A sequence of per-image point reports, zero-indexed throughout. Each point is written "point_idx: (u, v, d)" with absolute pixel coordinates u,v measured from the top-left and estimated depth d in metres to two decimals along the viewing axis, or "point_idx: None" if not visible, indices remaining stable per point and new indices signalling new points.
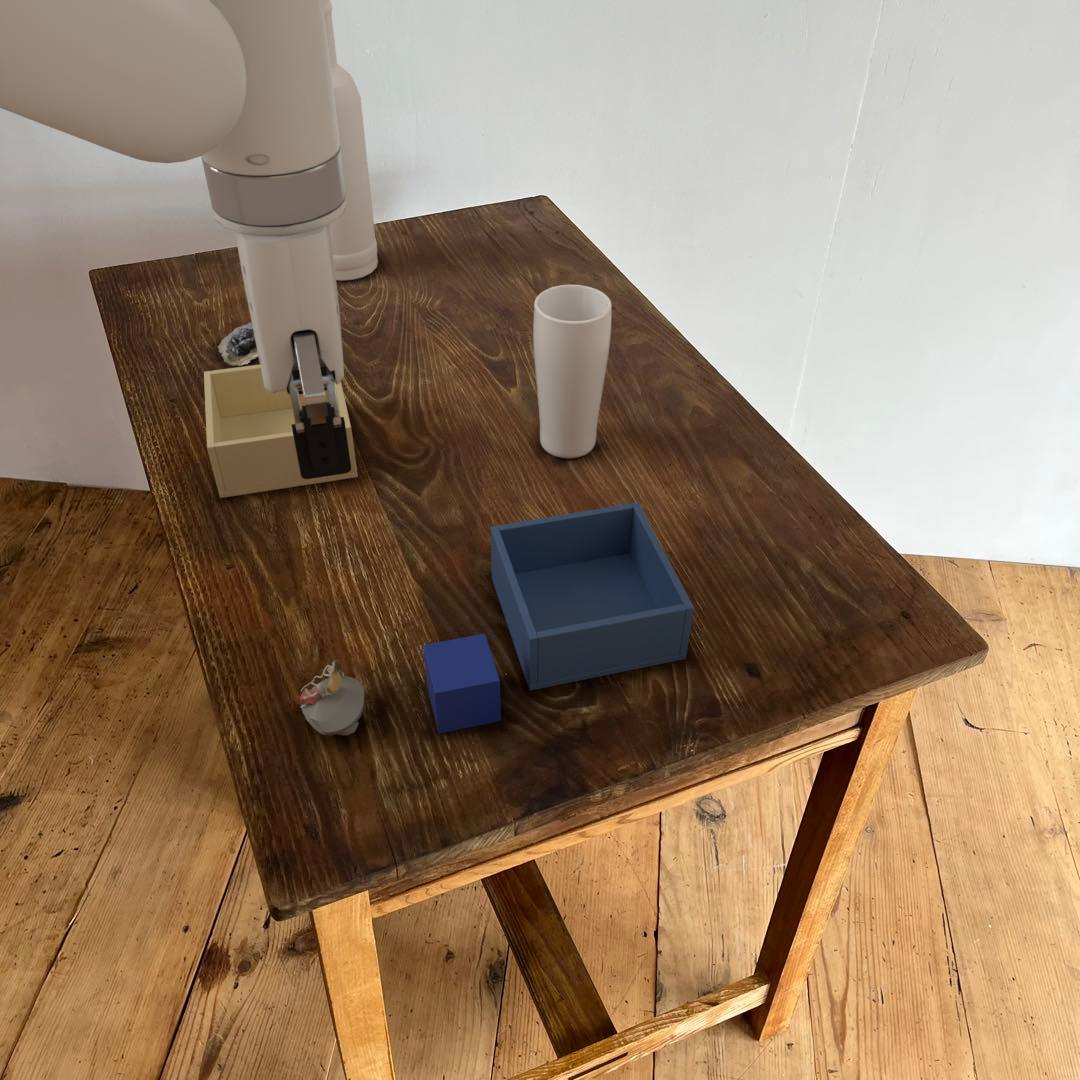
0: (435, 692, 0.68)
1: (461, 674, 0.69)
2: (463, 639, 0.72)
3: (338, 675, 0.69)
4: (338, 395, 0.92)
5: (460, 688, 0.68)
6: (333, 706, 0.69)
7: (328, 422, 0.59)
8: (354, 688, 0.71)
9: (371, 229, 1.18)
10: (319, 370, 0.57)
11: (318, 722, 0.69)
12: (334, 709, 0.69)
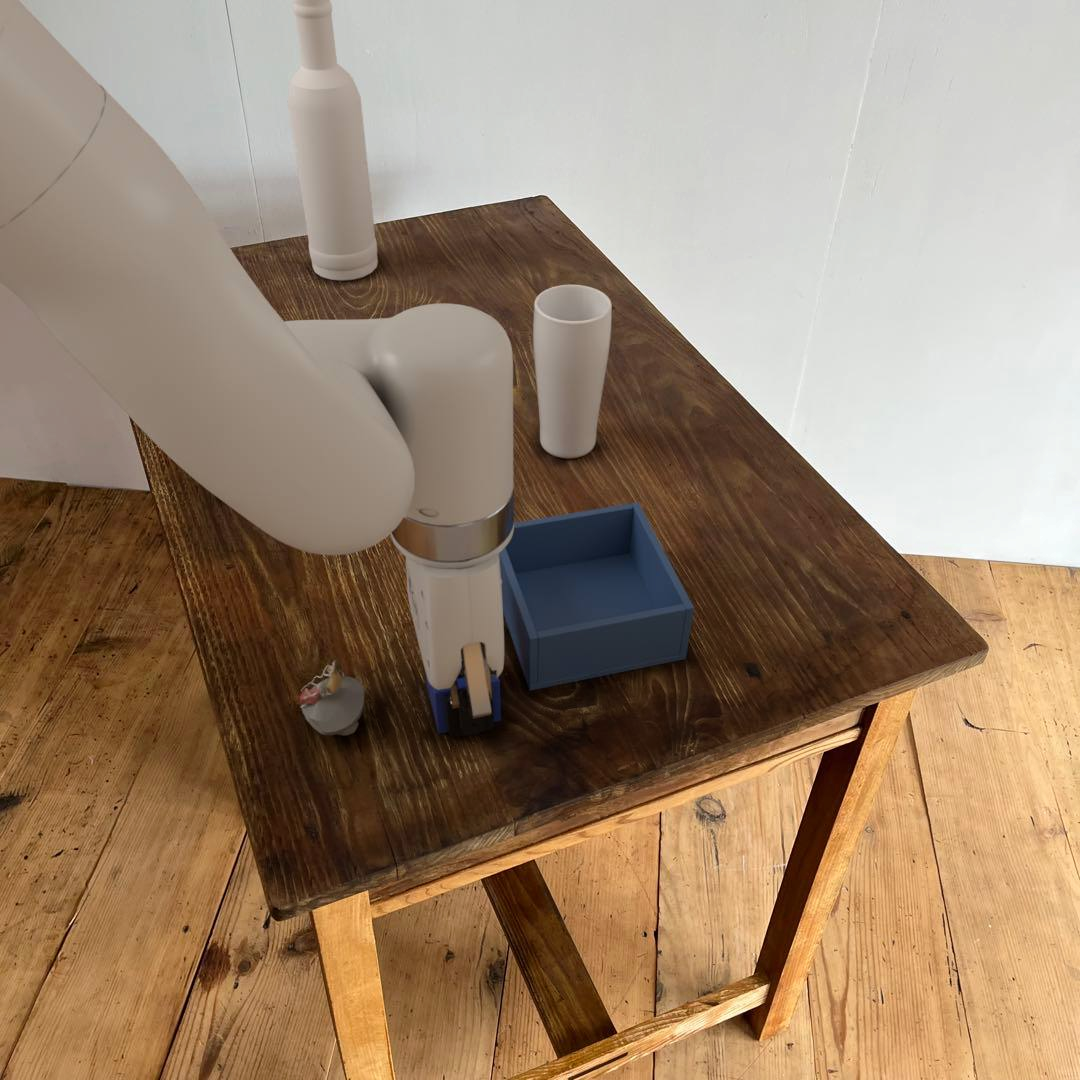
0: (435, 692, 0.68)
1: None
2: None
3: (338, 675, 0.69)
4: None
5: None
6: (333, 706, 0.69)
7: None
8: (354, 688, 0.71)
9: (371, 229, 1.18)
10: (486, 687, 0.63)
11: (318, 722, 0.69)
12: (334, 709, 0.69)
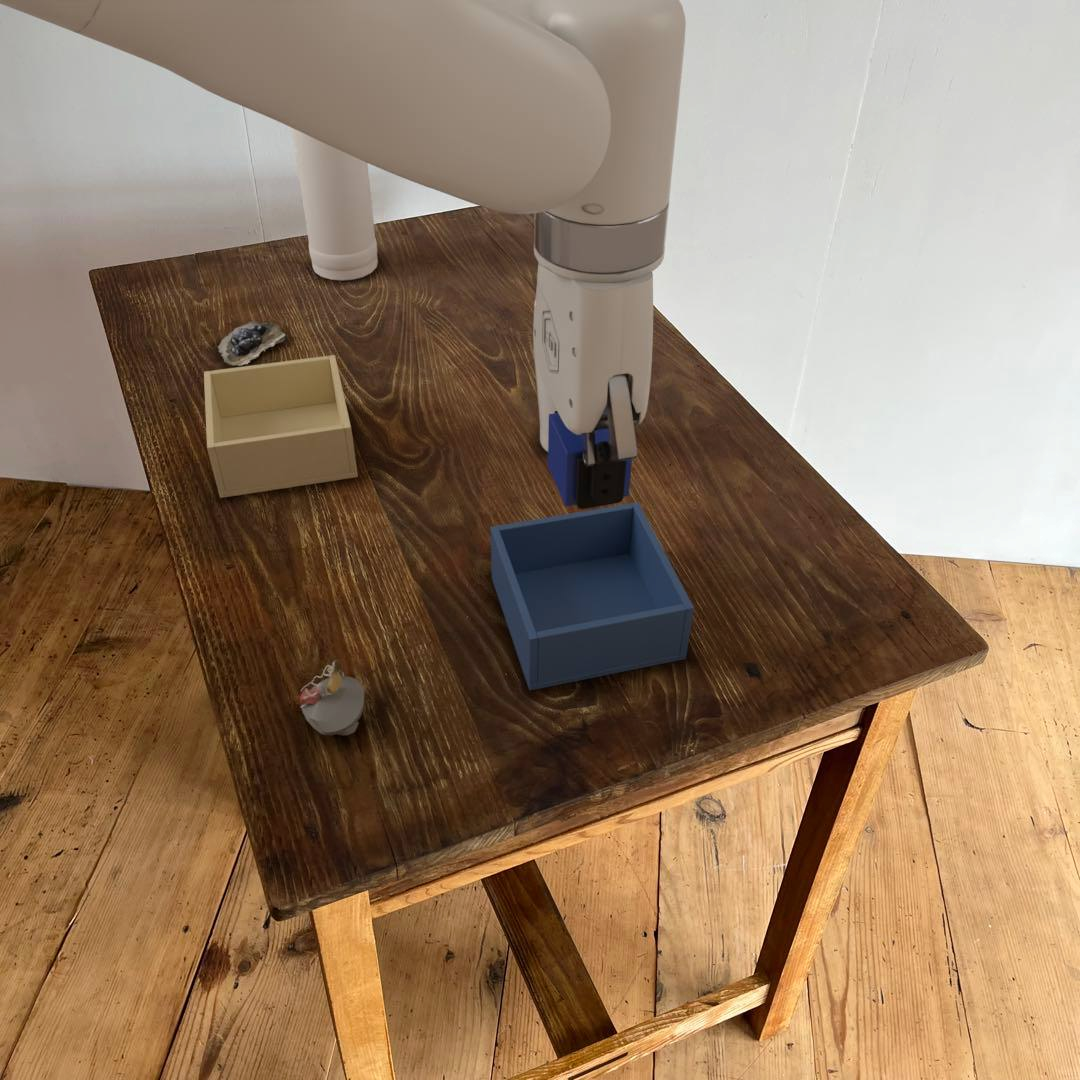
0: (567, 452, 0.65)
1: None
2: None
3: (338, 675, 0.69)
4: (338, 395, 0.92)
5: None
6: (333, 706, 0.69)
7: None
8: (354, 688, 0.71)
9: (371, 229, 1.18)
10: (632, 426, 0.59)
11: (318, 722, 0.69)
12: (334, 709, 0.69)
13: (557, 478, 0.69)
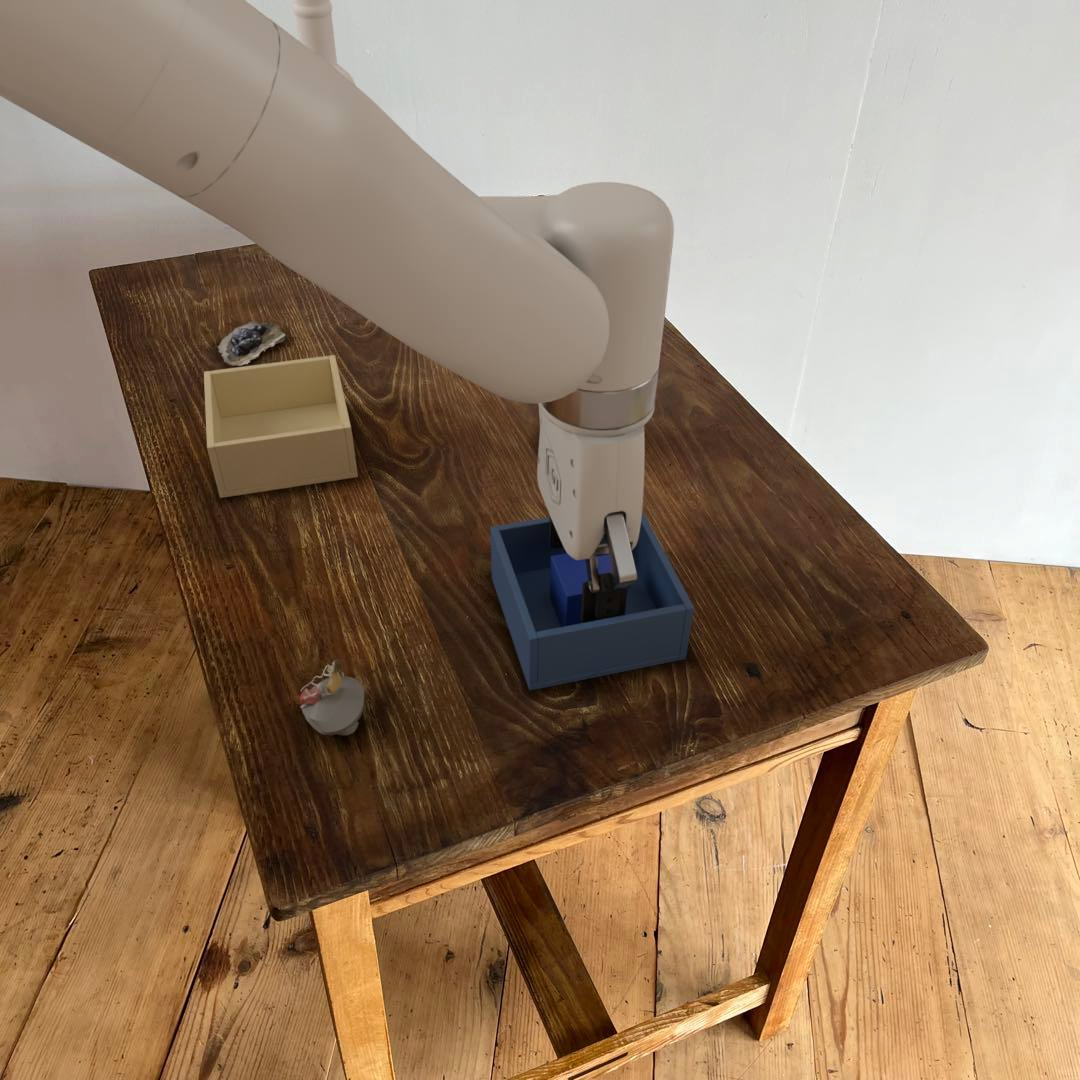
0: (567, 595, 0.74)
1: None
2: None
3: (338, 675, 0.69)
4: (338, 395, 0.92)
5: None
6: (333, 706, 0.69)
7: (626, 587, 0.68)
8: (354, 688, 0.71)
9: None
10: (630, 551, 0.66)
11: (318, 722, 0.69)
12: (334, 709, 0.69)
13: (558, 611, 0.78)
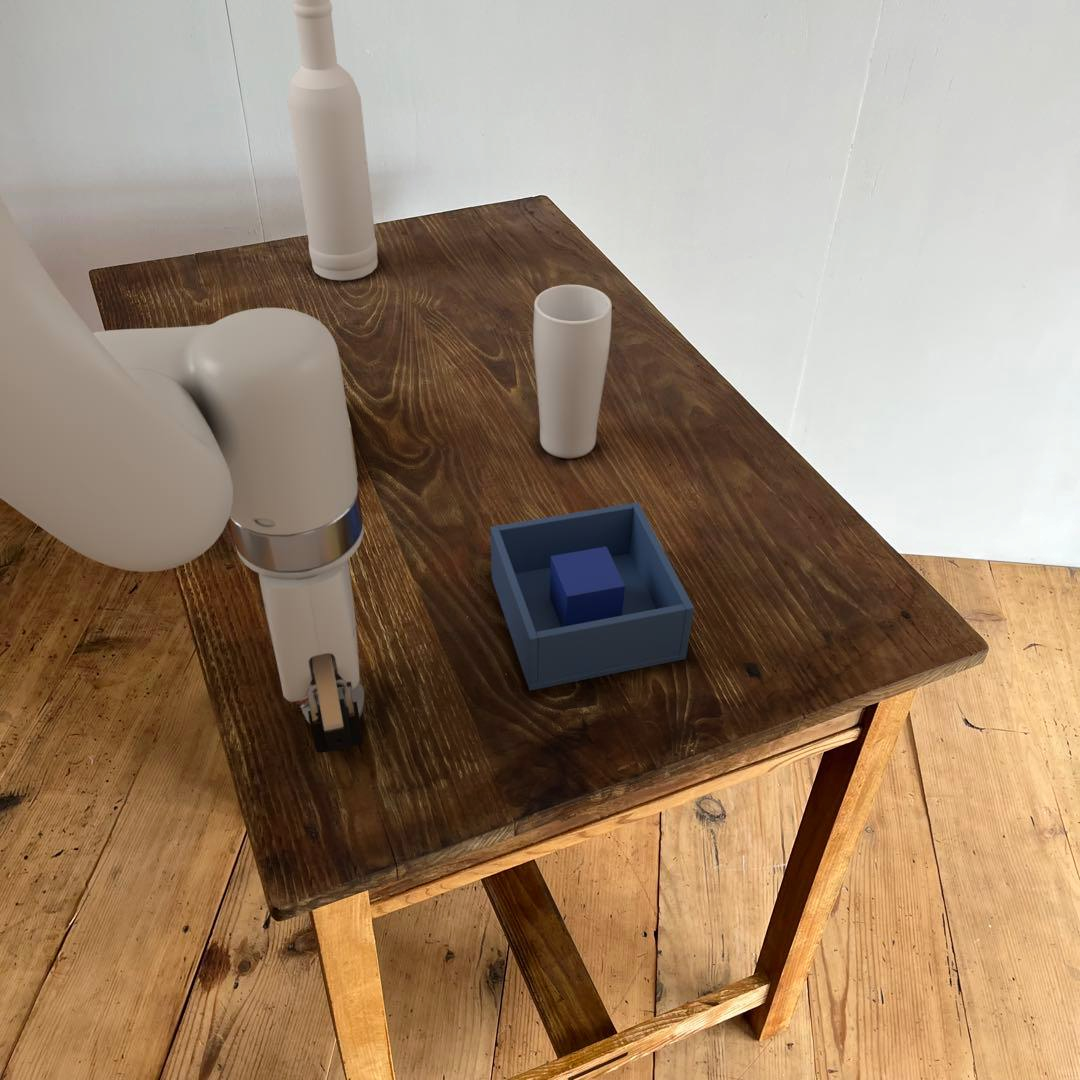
0: (567, 595, 0.74)
1: (589, 580, 0.75)
2: (587, 551, 0.78)
3: None
4: None
5: (589, 592, 0.74)
6: None
7: (342, 721, 0.64)
8: (354, 688, 0.71)
9: (371, 229, 1.18)
10: (337, 700, 0.61)
11: None
12: None
13: (558, 611, 0.78)
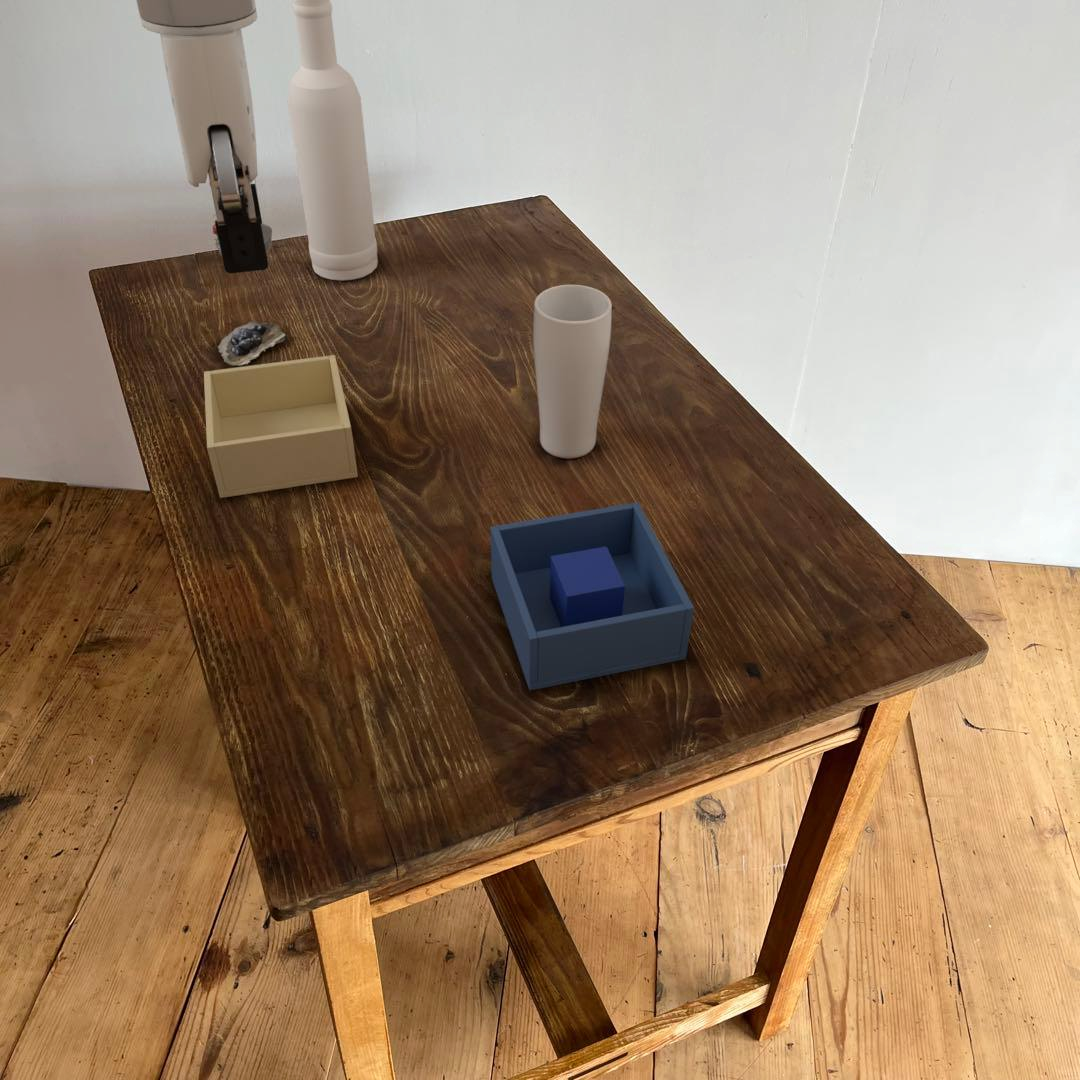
0: (567, 595, 0.74)
1: (589, 580, 0.75)
2: (587, 551, 0.78)
3: None
4: (338, 395, 0.92)
5: (589, 592, 0.74)
6: None
7: (242, 211, 0.71)
8: (263, 227, 0.78)
9: (371, 229, 1.18)
10: (234, 172, 0.69)
11: None
12: None
13: (558, 611, 0.78)
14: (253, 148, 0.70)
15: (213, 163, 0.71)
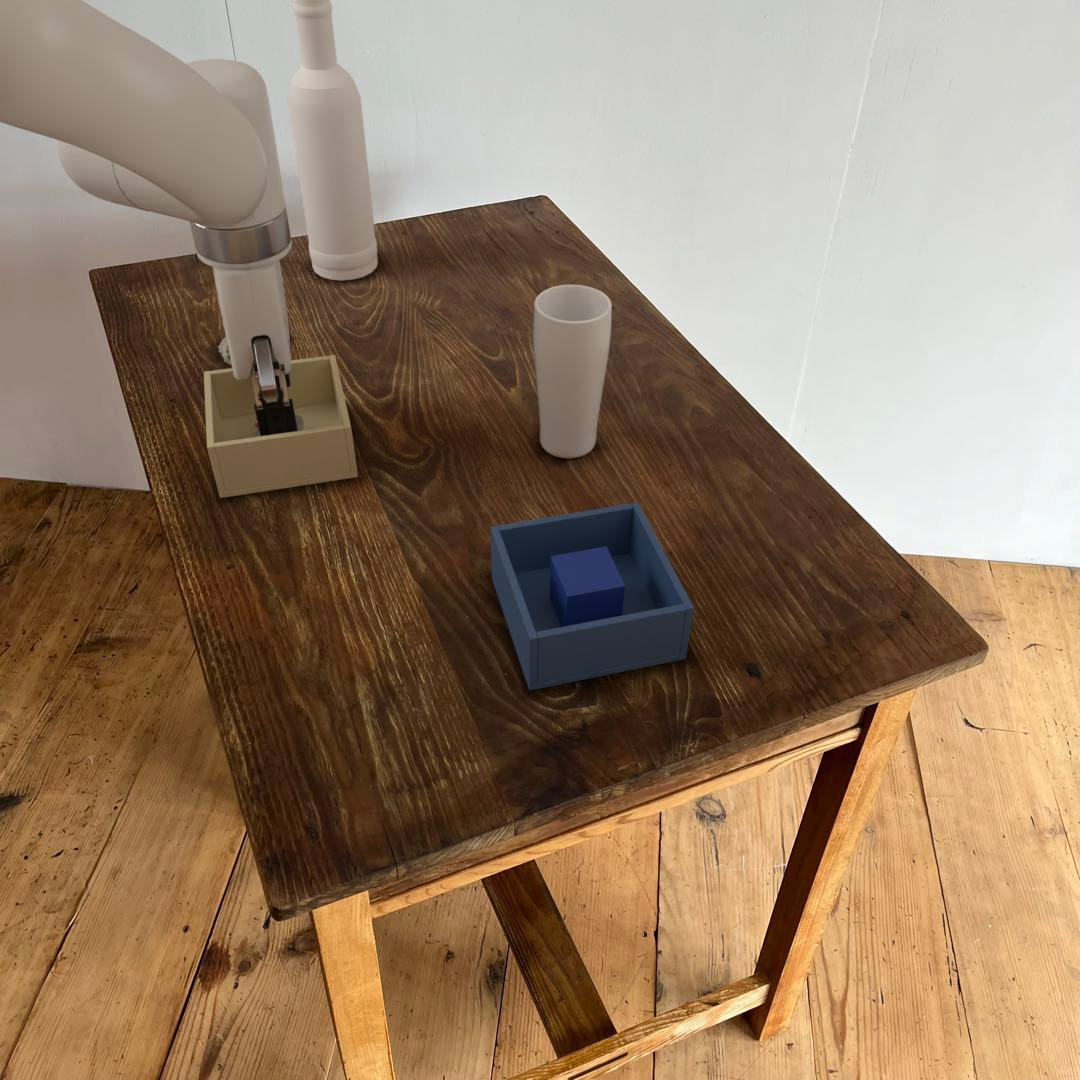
0: (567, 595, 0.74)
1: (589, 580, 0.75)
2: (587, 551, 0.78)
3: None
4: (338, 395, 0.92)
5: (589, 592, 0.74)
6: None
7: (278, 401, 0.84)
8: (296, 418, 0.94)
9: (371, 229, 1.18)
10: (271, 367, 0.82)
11: None
12: None
13: (558, 611, 0.78)
14: (288, 350, 0.84)
15: (254, 360, 0.85)
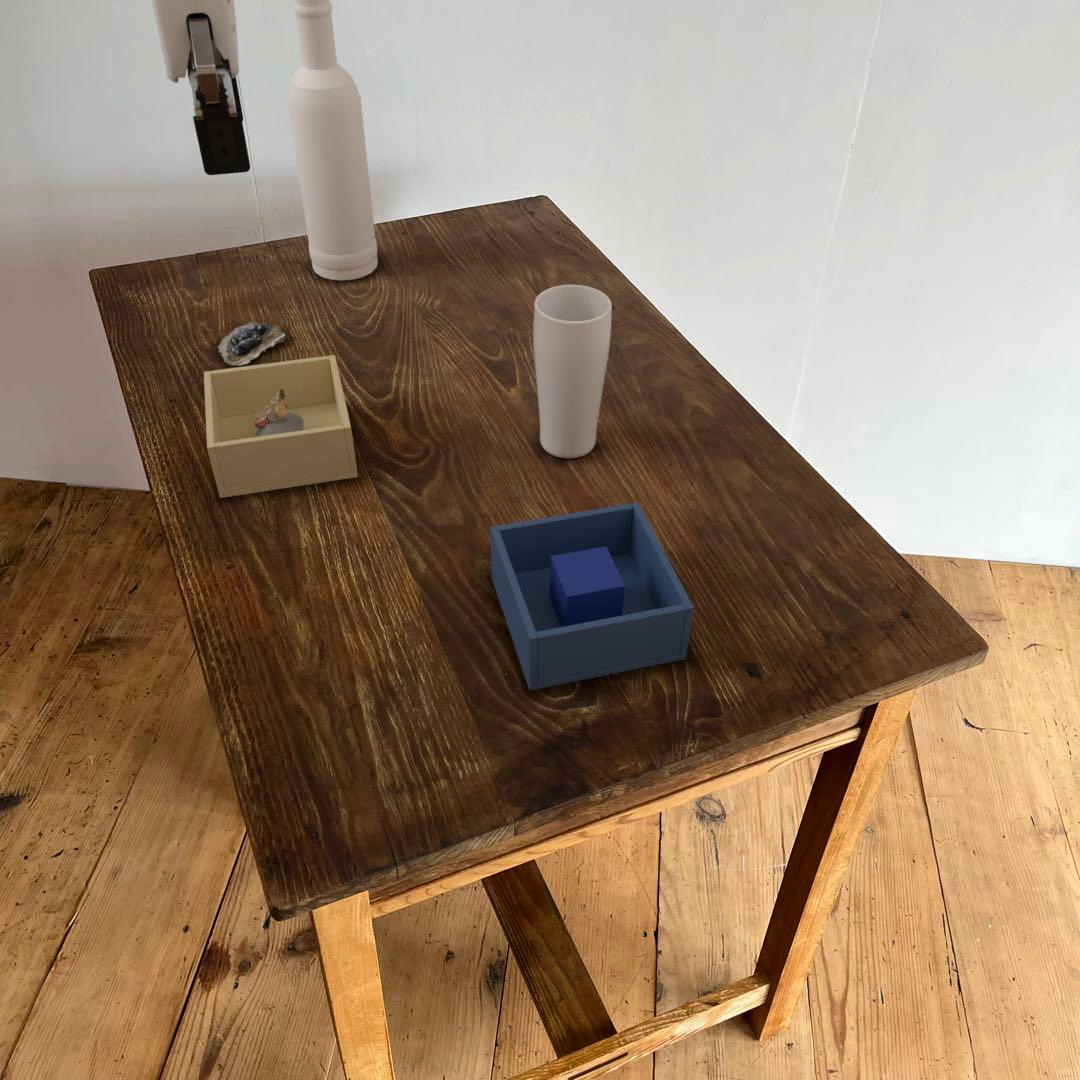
0: (567, 595, 0.74)
1: (589, 580, 0.75)
2: (587, 551, 0.78)
3: (283, 403, 0.92)
4: (338, 395, 0.92)
5: (589, 592, 0.74)
6: (279, 427, 0.92)
7: (221, 102, 0.67)
8: (296, 418, 0.94)
9: (371, 229, 1.18)
10: (210, 46, 0.65)
11: None
12: (280, 429, 0.92)
13: (558, 611, 0.78)
14: (234, 41, 0.68)
15: (193, 58, 0.69)
